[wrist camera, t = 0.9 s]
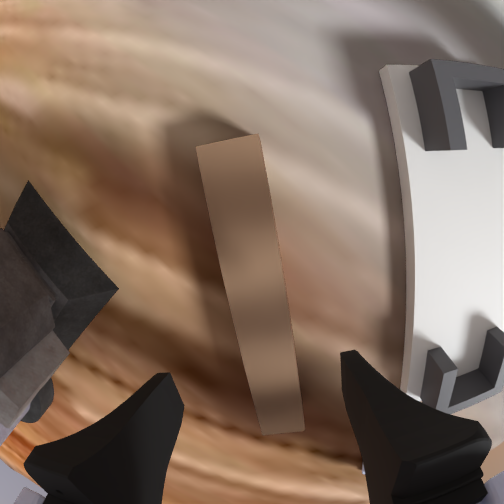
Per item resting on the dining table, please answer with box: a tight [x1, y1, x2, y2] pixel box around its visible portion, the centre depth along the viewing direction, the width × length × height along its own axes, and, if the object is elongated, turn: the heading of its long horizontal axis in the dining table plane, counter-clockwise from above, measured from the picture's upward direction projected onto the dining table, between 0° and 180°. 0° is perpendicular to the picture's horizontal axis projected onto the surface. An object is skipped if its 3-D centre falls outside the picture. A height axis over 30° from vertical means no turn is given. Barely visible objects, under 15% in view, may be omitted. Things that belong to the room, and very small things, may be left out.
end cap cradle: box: [379, 59, 504, 414], centre depth 16 cm, size 25×10×4 cm, turn 11°
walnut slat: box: [196, 134, 305, 435], centre depth 19 cm, size 20×3×4 cm, turn 11°
